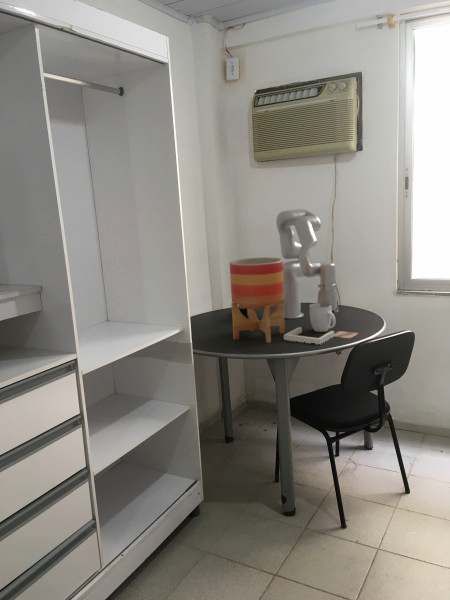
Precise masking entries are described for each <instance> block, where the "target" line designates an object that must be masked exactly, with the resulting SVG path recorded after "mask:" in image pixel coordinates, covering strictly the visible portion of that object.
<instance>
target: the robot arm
mask: <svg viewBox="0 0 450 600" xmlns="http://www.w3.org/2000/svg"><path fill="white" fill-rule="evenodd" d="M275 221H276V222H275V223H276V229H277V231H278V234H279V243H280V251H281V252H280V253H281V256H282V258H284V259H285V260H291V261H286V262H283V279H284V319H300V318H303V317H304V312H301V311H302V309H301V308H302V307H301V305H302V304H301V285H300V283H299V281H298V279H297V278H302V277H306V278H314V277H319V278H320V279H319V284H318V285H317V287H318V288H319V290H318V291H317V292H318V293H317V302H316V303H319V304H320V308H323V307H329V304H331V305H332V313H333V314H334V313H338V312H339V306H340V305H339V295H338V291H337V288H336V264H335V263H333V262H327V261H325V260H323V261H322V260H320V261H313V262H311V256H310V250H311V249H312V248H314V247H315V246H317V244H318V240H317V237H316V234H315V232H318V231H319V230H320V229H321V225H322V222H321V220H320V218H319V217H318V216H317V215H316V214H314V213H313V212H310V211H308V210H307V209H287V210H283V211H280V212H279V213H278V214H277V217H276V219H275ZM292 226H294V229H295V231H294V230H293V228H292ZM295 232H296V234H297V237H298V241H297V240H296V234H295ZM292 259H297V260H292ZM331 322H333V320H332V319H331Z"/></svg>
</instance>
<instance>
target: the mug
mask: <svg viewBox="0 0 450 600" xmlns="http://www.w3.org/2000/svg"><path fill="white" fill-rule="evenodd" d="M331 319H332V321H331ZM309 320H310V325H311V327H312V329H313V330H314V332H317V333H322V332H323V333H325V332H328V331H329V329H333V328H334V327H335V326H336V324H337V322H336V316H335V314H334V313H332V305H331V304H329V307H323V308H320V304H319V303H317V302H316V303H311V304H309Z"/></svg>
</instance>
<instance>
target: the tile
mask: <svg viewBox="0 0 450 600" xmlns="http://www.w3.org/2000/svg"><path fill="white" fill-rule="evenodd" d="M358 334H360V333H359V332H351V331H342V330H339V331H337V332H334V337H333V338H335V337H336V338H342V339H352V338H354V337H355V336H357V335H358Z"/></svg>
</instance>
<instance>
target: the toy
mask: <svg viewBox="0 0 450 600" xmlns="http://www.w3.org/2000/svg"><path fill="white" fill-rule="evenodd" d="M238 307H239V306H238ZM239 310H240V312H241V313H242V315H243V316H244V317H246V318H247V319H249V315H248V309H247V308H242V307H239Z"/></svg>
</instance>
